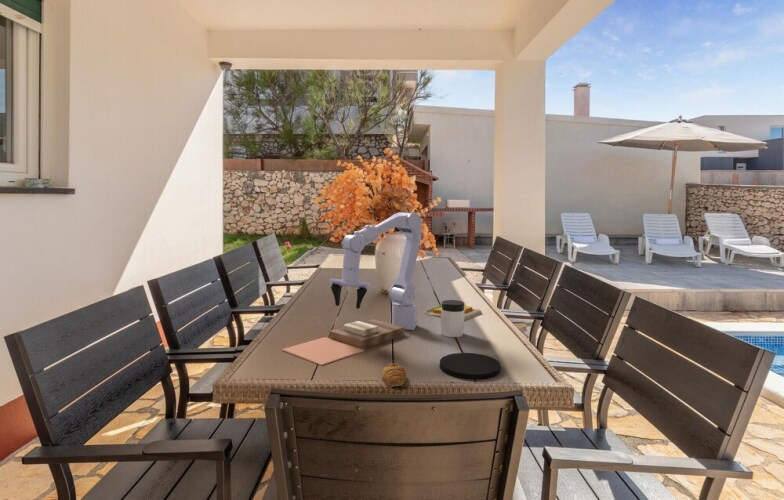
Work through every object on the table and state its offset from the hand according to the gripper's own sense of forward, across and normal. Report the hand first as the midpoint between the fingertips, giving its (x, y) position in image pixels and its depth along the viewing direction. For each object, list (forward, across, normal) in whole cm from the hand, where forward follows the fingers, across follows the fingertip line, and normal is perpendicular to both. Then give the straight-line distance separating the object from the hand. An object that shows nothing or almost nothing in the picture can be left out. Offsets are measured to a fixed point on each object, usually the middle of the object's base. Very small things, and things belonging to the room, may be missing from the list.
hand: (347, 306), depth 168 cm
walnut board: (+10, +7, +3) cm, 13 cm away
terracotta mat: (+12, -2, -15) cm, 19 cm away
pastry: (+12, +26, -32) cm, 43 cm away
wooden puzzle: (+7, +34, +45) cm, 56 cm away
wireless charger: (+10, +45, -18) cm, 50 cm away
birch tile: (+8, +6, 0) cm, 10 cm away
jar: (+8, +36, +15) cm, 40 cm away
